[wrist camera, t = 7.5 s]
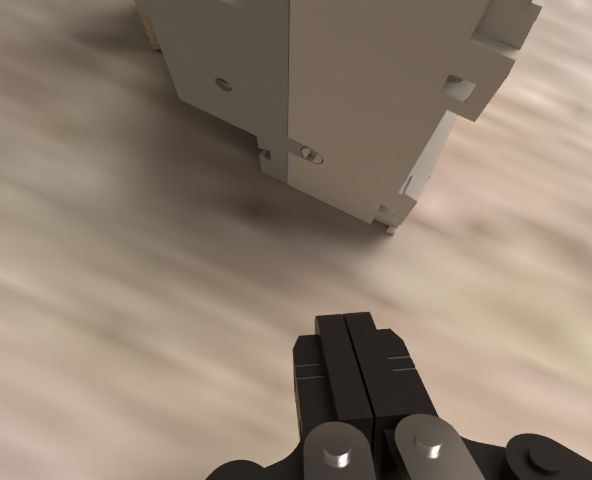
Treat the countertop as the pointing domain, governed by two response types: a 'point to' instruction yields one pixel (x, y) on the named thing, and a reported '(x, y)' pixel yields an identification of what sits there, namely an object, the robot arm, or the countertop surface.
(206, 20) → the circuit breaker
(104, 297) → the countertop surface
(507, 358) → the countertop surface
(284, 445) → the countertop surface
